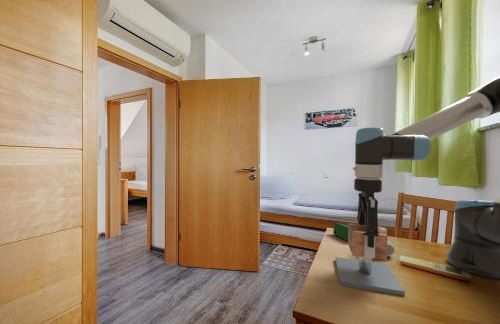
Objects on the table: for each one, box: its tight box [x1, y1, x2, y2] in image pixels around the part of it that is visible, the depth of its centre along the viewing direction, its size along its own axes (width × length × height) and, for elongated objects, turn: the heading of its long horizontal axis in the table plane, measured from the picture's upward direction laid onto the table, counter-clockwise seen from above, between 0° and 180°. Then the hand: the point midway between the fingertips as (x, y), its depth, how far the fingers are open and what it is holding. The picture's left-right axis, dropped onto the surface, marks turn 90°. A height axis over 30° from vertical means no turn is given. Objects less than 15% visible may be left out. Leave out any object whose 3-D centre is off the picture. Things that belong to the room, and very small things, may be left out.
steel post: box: [358, 256, 373, 275], centre depth 68 cm, size 4×4×10 cm
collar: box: [347, 222, 389, 261], centre depth 68 cm, size 9×9×7 cm
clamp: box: [332, 222, 349, 242], centre depth 101 cm, size 12×6×9 cm, turn 14°
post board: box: [335, 257, 406, 297], centre depth 69 cm, size 16×16×1 cm
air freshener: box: [379, 226, 396, 257], centre depth 84 cm, size 11×8×10 cm
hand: (365, 250), depth 68 cm, fingers closed on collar, 9 cm apart
